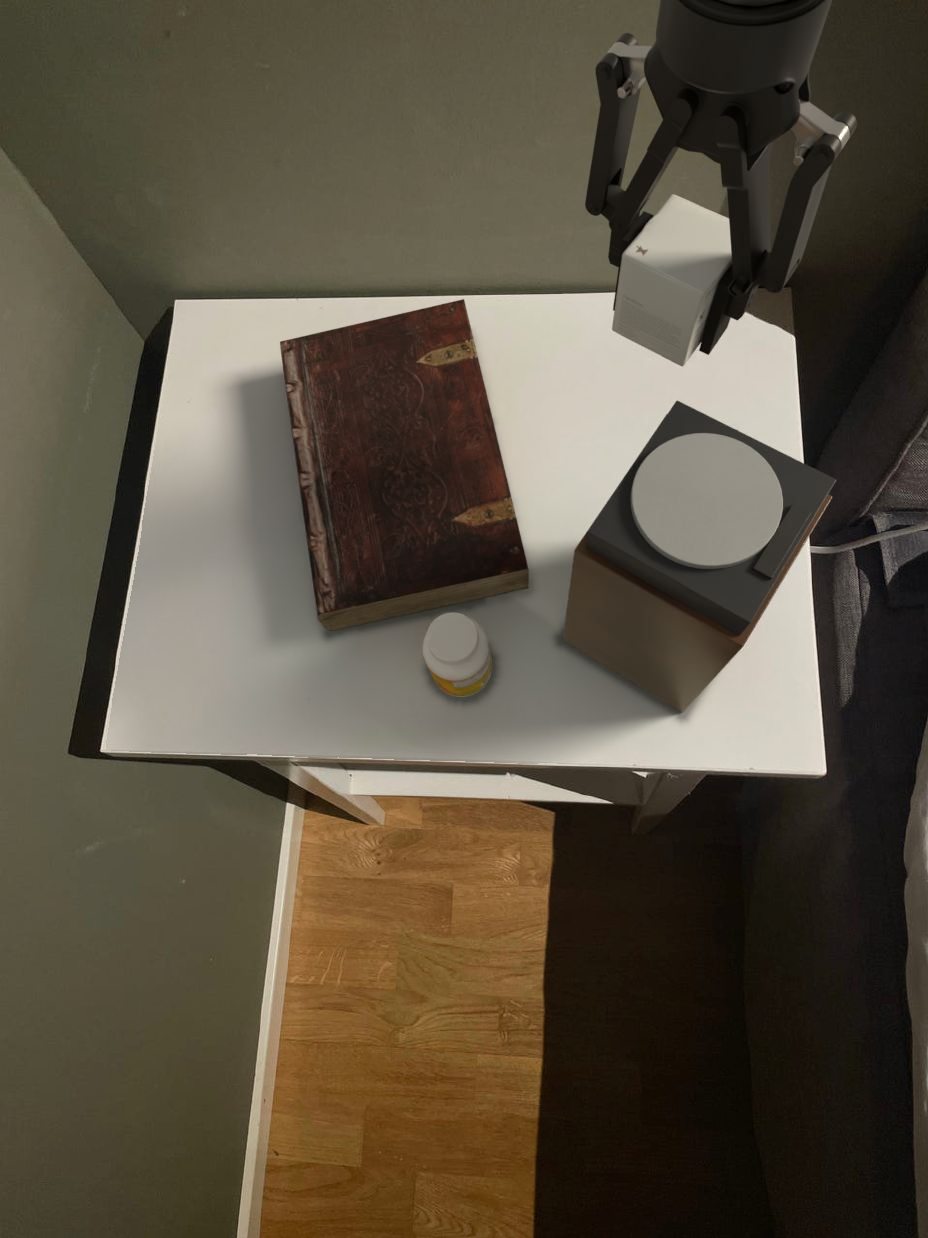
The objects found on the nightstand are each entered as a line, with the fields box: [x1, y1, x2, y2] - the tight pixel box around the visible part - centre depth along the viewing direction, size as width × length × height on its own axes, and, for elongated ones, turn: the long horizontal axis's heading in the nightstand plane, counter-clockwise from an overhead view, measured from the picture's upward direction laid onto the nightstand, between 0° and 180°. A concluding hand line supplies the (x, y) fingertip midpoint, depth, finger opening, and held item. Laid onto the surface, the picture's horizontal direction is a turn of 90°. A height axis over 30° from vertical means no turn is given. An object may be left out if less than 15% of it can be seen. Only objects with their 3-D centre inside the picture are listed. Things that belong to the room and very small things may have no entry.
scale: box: [585, 400, 837, 635], centre depth 49 cm, size 11×11×3 cm
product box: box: [611, 193, 732, 367], centre depth 52 cm, size 6×6×7 cm
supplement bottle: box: [422, 611, 493, 698], centre depth 64 cm, size 5×5×10 cm
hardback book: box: [279, 298, 530, 632], centre depth 73 cm, size 29×19×5 cm, turn 11°
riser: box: [562, 415, 833, 713], centre depth 60 cm, size 12×12×20 cm
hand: (669, 318), depth 55 cm, fingers closed on product box, 6 cm apart
